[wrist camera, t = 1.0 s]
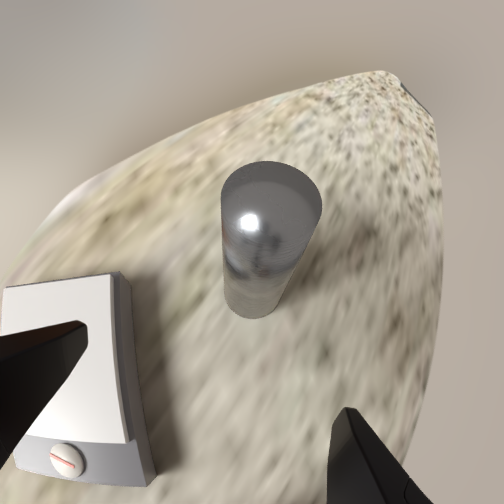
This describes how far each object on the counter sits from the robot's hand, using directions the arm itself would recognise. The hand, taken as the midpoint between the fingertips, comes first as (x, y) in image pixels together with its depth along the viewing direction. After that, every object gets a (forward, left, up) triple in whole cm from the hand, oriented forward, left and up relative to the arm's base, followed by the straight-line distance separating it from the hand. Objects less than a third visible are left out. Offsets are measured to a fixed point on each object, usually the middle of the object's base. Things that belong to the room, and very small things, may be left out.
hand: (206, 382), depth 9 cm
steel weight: (+7, -4, -13) cm, 16 cm away
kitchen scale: (+1, +12, -13) cm, 18 cm away
